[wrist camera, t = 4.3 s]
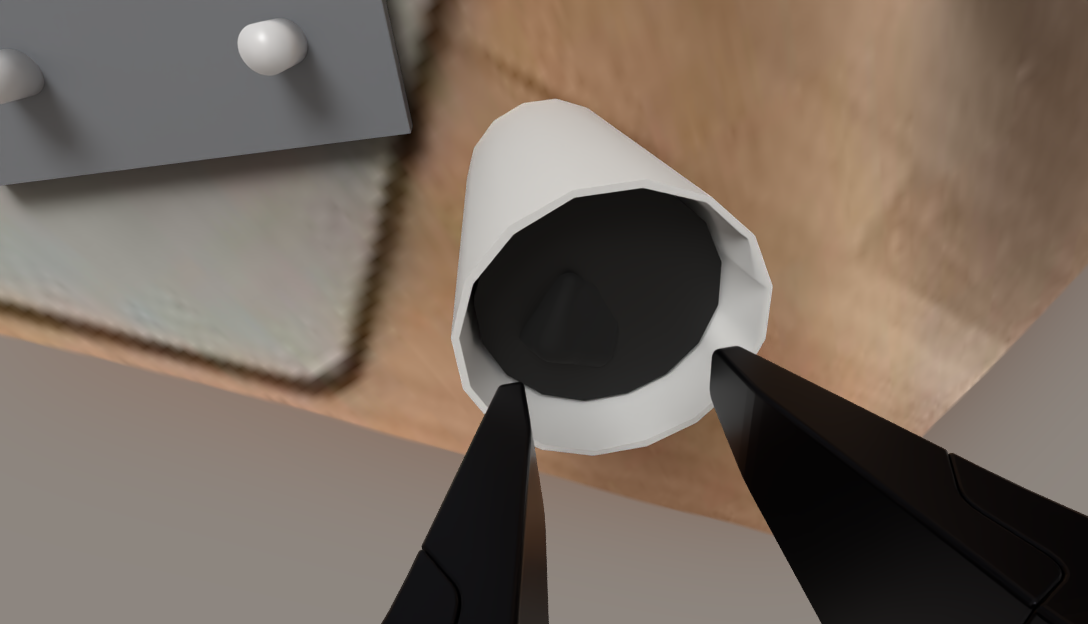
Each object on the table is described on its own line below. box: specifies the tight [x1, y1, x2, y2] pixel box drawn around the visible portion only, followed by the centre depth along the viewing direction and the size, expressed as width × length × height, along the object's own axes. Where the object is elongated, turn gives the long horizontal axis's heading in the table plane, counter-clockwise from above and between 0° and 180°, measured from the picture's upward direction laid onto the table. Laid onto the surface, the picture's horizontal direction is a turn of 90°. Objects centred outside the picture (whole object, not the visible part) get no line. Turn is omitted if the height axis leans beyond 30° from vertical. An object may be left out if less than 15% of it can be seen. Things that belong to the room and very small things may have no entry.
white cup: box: [451, 99, 773, 456], centre depth 15 cm, size 7×7×10 cm
